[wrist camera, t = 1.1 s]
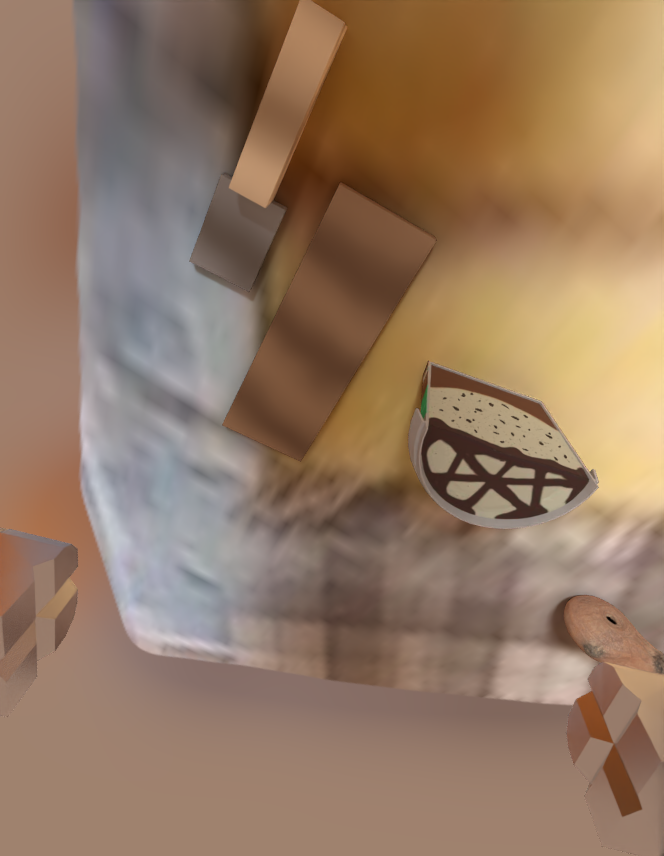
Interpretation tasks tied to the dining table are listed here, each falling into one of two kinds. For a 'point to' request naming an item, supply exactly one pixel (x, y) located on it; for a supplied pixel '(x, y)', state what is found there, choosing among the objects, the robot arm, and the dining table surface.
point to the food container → (493, 453)
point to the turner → (268, 152)
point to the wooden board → (327, 321)
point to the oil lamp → (609, 635)
